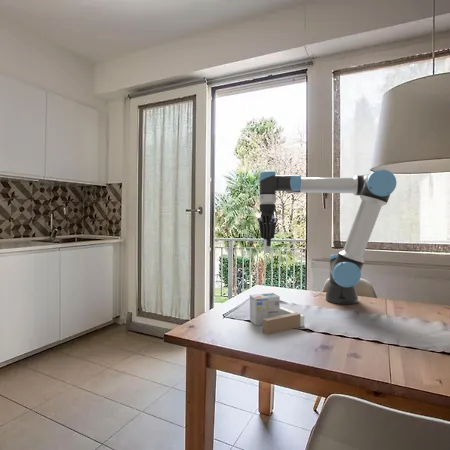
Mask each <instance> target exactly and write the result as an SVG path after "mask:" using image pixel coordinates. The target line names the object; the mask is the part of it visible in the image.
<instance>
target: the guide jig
mask: <svg viewBox="0 0 450 450" xmlns="http://www.w3.org/2000/svg"><path fill="white" fill-rule="evenodd" d="M302 327H305V315H303V314H301V313H299V312H295V311H294V310H291V309H288V308H286V307H282V306H281V305H280V316H275V317H270V318H265V319H263V325H262V333H263V334H265V335H271V334H276V333H280V332H284V331H288V330H294V329H297V328H302Z"/></svg>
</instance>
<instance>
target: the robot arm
mask: <svg viewBox="0 0 450 450" xmlns="http://www.w3.org/2000/svg"><path fill="white" fill-rule="evenodd" d="M378 169H379V168H378ZM378 169H375V170H376V171H375V170H374V171H375V172H373V171H371V172H370V173H368V174H364V175H363V174H362V175H354V177H302V176H301V175H300V174H280V175H277V173H276V171H274V170H264V171H263V170H262V171H260V173H259V212H260V213H261V214H260V217H257V223H258V225H259V227H258V228H259V235H260V238H261V239H262V240H263V253H264V254H270V253H271V246H272V240H273V239H274V238H275V234H276V233H275V232H276V228H277V223H278V220H279V219H278V218H277V217H275V214H274V213H275V212H276V204H275V203H276V201H277V200H276V192H286V193H287V194H293V193H294V194H295V193H297V194H299V193H300V194H301V193H306V194H309V193H311V194H315V193H316V194H321V193H323V194H353V195H354V196H359V197H360V200H361V202H360V204H359V207H358V210H357V212H356V215H355V218H354V220H353V223H352V226H351V228H350V231H349V234H348V236H347V240H346V242H345V244H344V247H343V250H342V251H341V250H340V251H339V252H338V253H337V254H330V255H329V260H328V261H329V284H328V285H329V286H328V288H327V290H326V293H325V300H326V301H327V302H329V303H333V304H338V305H355V304H357V303H358V301H359V297H358V294H357V290H356V287H355V286H356V285H357V284H358V283H359V282H360V280H361V277H362V269H363V266H364V264H365V260H364V258H363V256H364V253H365V250H366V248H367V246H368V243H369V240H370V238H371V236H372V233H373V229H374V228H375V225H376V222H377V221H378V220H377V219H378V217H379V215H380V212H381V209H382V207H384V206H386V205H388V202H389V199H390V196H391V194H393V192H395V189H396V188H397V179H396V178H397V177H396V176H395V175H394V173H393V172H392V171H390V170H387V169H384V168H383V169H382V168H380V169H379V170H378Z"/></svg>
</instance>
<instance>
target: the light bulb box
mask: <svg viewBox="0 0 450 450" xmlns="http://www.w3.org/2000/svg"><path fill="white" fill-rule="evenodd" d="M280 297H281V296H279V295H278V294H276V293H274V292H268V293H257V294H249V320H250V321H249V322H251V323H252V324H254V325H255V326H261V325H262V326H263V319H265V318H270V317H275V316H280V306H281V303H280V300H281V299H280Z"/></svg>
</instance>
